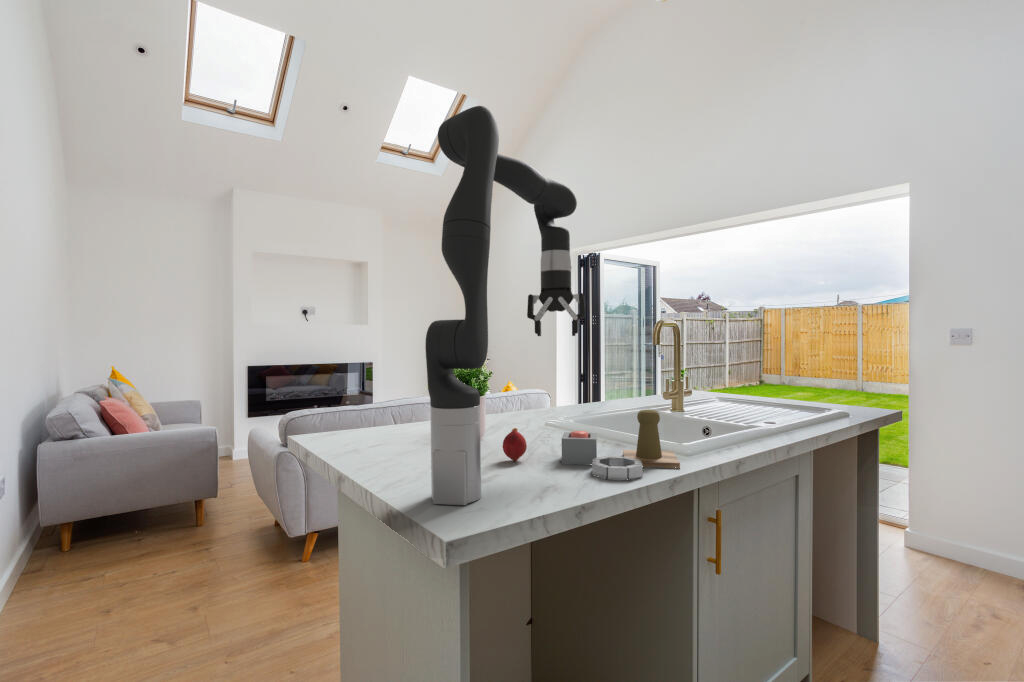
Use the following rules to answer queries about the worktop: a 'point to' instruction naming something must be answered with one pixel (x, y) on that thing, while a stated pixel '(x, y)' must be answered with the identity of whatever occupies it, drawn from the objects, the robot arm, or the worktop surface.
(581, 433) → the plunger
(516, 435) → the onion
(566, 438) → the housing
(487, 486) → the worktop surface
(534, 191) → the robot arm
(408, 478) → the worktop surface
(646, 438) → the cork
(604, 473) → the seat ring
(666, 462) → the board
